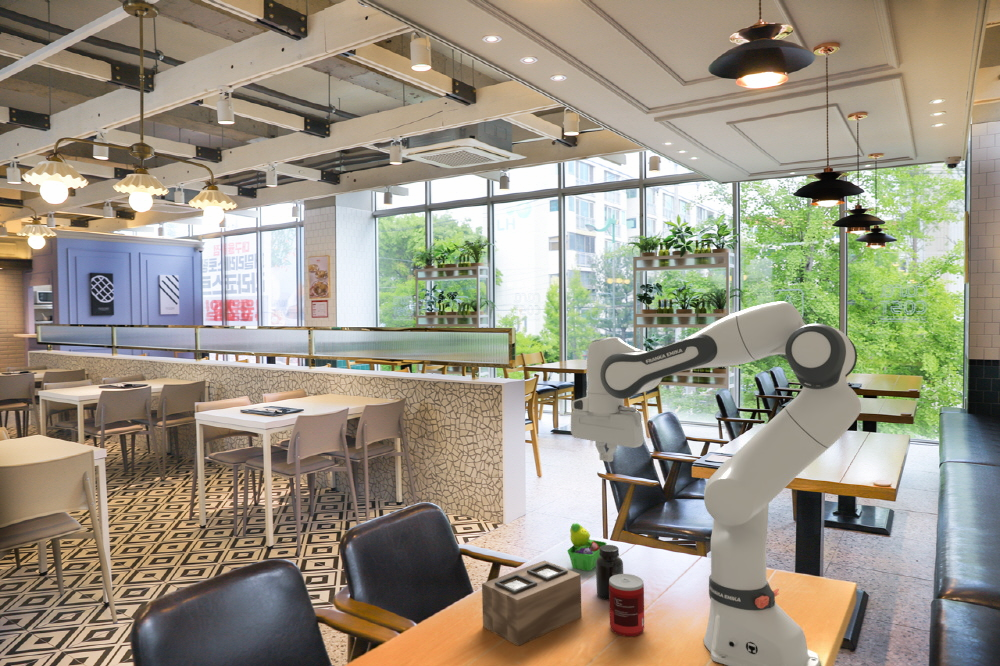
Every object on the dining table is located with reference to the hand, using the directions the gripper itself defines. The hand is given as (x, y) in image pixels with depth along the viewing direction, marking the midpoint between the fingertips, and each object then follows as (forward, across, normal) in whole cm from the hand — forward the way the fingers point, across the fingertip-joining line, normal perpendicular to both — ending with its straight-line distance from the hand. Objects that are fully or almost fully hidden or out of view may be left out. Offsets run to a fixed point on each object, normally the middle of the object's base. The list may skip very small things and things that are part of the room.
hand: (606, 460), depth 160 cm
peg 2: (+34, +6, +15) cm, 38 cm away
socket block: (+35, +6, +20) cm, 41 cm away
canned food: (+35, -11, +7) cm, 38 cm away
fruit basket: (+35, +21, -15) cm, 44 cm away
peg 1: (+34, +6, +25) cm, 43 cm away
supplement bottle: (+35, +3, -4) cm, 36 cm away
